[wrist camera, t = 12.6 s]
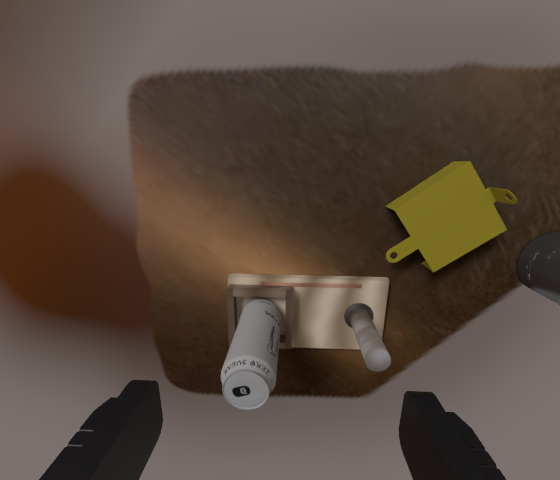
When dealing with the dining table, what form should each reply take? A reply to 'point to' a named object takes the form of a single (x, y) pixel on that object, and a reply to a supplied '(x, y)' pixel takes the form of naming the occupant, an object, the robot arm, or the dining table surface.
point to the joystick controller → (319, 311)
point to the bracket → (448, 215)
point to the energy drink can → (252, 356)
